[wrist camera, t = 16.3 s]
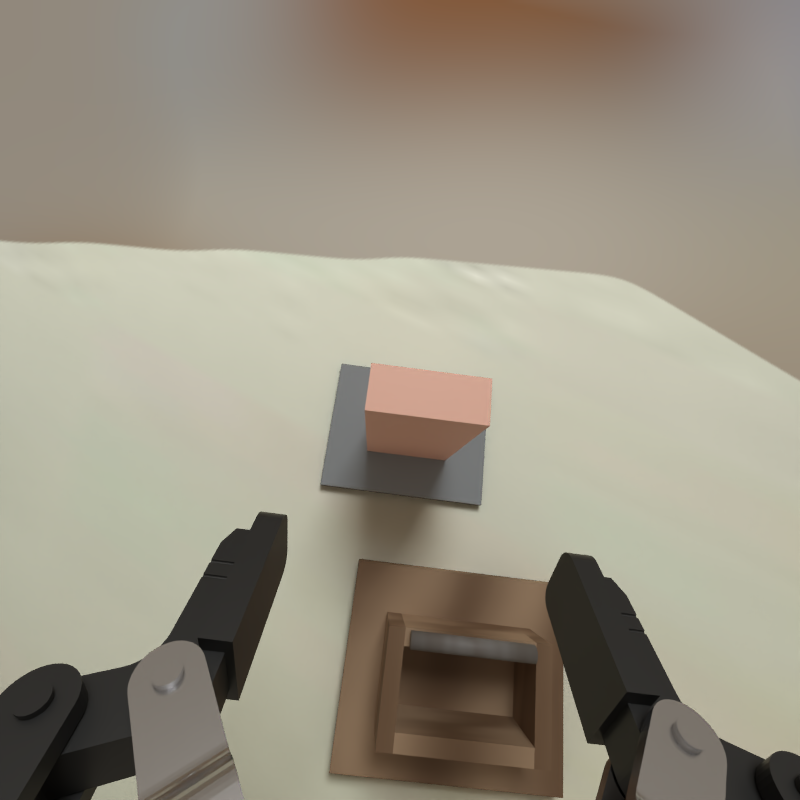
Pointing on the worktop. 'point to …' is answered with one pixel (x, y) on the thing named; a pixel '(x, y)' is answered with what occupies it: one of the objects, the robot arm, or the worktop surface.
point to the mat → (393, 455)
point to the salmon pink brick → (424, 411)
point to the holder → (451, 682)
